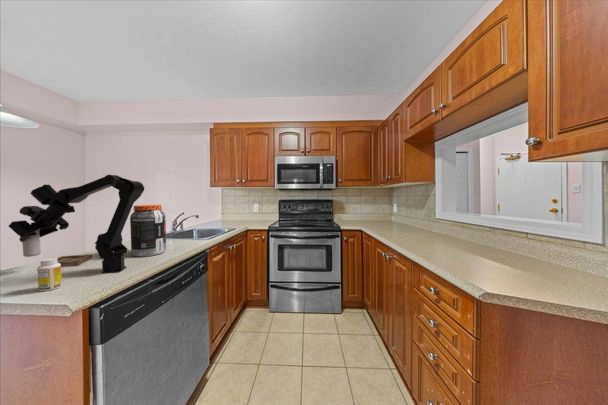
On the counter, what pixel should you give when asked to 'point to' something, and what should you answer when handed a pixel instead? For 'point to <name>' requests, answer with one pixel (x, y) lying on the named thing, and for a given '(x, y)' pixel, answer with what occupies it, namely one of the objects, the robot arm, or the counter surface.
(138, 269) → the counter surface
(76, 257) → the walnut tray
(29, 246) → the beverage can
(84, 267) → the counter surface
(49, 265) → the supplement bottle
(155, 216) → the supplement tub
